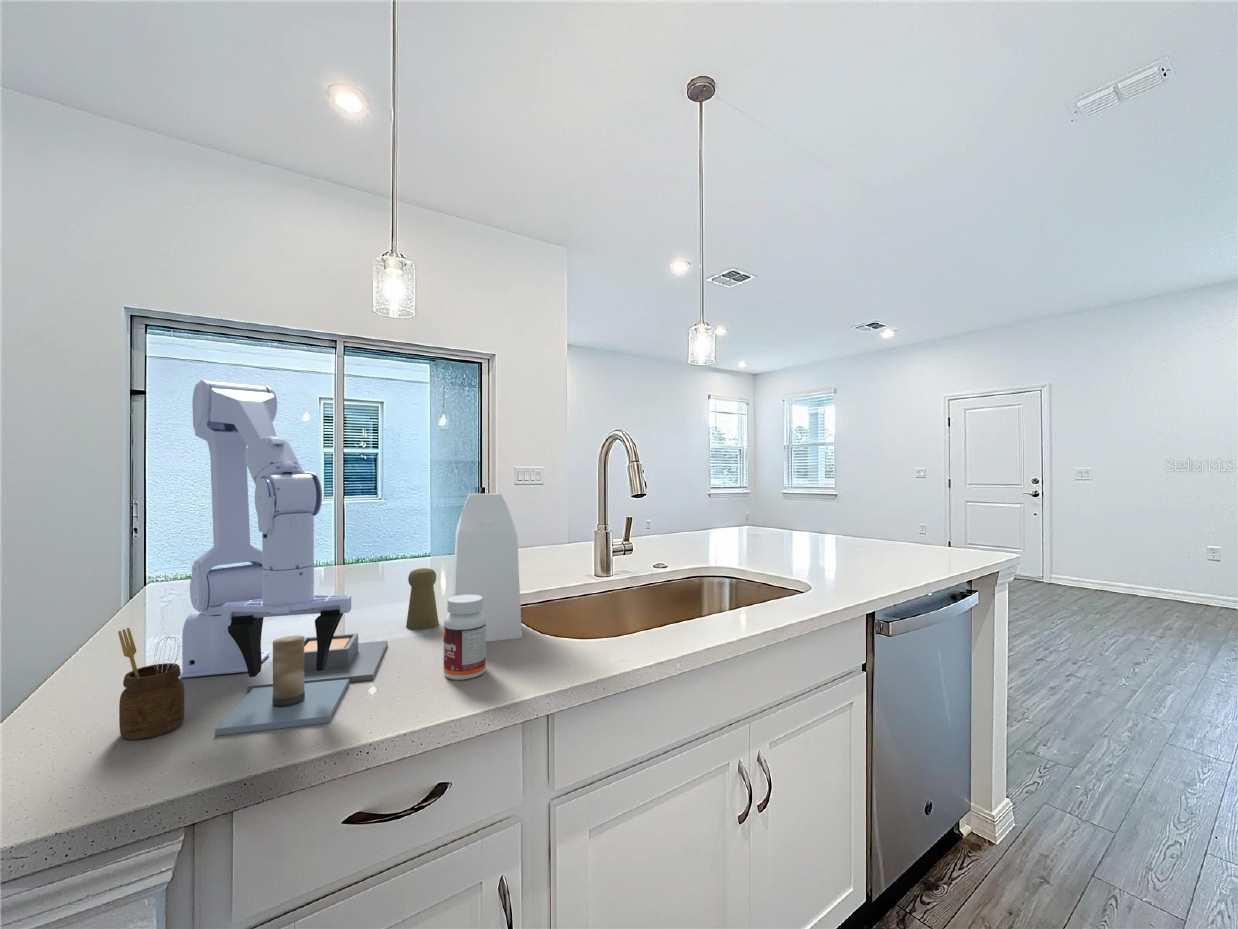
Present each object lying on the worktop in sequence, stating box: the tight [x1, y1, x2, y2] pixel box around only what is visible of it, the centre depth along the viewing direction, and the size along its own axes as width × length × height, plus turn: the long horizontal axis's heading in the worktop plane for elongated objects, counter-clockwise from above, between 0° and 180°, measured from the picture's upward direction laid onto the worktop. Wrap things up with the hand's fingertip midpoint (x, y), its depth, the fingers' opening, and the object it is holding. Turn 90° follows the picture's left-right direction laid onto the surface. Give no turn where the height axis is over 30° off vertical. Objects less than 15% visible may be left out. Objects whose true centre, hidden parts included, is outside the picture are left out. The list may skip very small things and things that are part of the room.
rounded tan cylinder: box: [272, 634, 305, 707], centre depth 71 cm, size 4×4×8 cm
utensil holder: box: [117, 627, 185, 741], centre depth 66 cm, size 6×6×12 cm
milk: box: [452, 492, 523, 642], centre depth 104 cm, size 12×12×26 cm
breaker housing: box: [247, 632, 388, 693], centre depth 86 cm, size 16×16×4 cm
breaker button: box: [304, 638, 350, 651], centre depth 86 cm, size 6×6×2 cm
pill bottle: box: [443, 595, 487, 681], centre depth 83 cm, size 6×6×11 cm
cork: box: [405, 567, 440, 631], centre depth 108 cm, size 6×6×11 cm
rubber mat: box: [214, 679, 350, 737], centre depth 71 cm, size 12×12×1 cm
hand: (288, 671), depth 71 cm, fingers open, 7 cm apart
